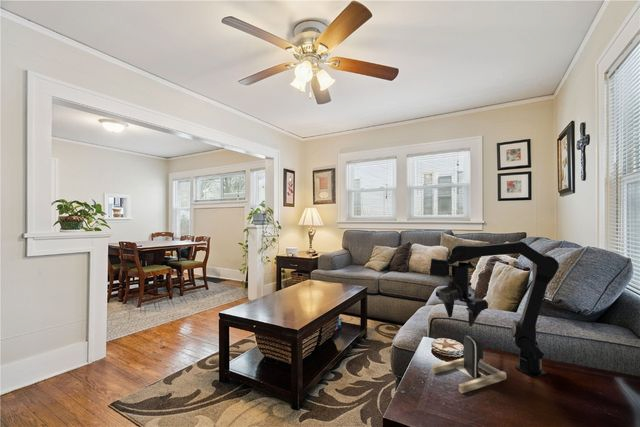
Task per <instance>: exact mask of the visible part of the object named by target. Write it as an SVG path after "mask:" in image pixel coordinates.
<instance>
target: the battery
mask: <svg viewBox="0 0 640 427" xmlns="http://www.w3.org/2000/svg"><path fill="white" fill-rule="evenodd" d="M463 358H464V368H465V369H466V370H467V372H468V373H469V374H470V375H471V376H472V377H473V378H479V377H481V374H480V373H481V372H480V371H479V367H478V362H479V361H480V360H484V346H483V343H482V342H481V341H480V340H479V339H478V338H477V337H475V336H473V335H471V336H470V335H464V337H463ZM479 372H480V373H479ZM473 378H472V379H473Z"/></svg>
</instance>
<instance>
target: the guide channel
mask: <svg viewBox="0 0 640 427" xmlns="http://www.w3.org/2000/svg"><path fill="white" fill-rule="evenodd" d="M430 369H431V370H430V372H431V374H433V375H436V374H439V373H442V372H443V373H444V372H446V371H450V370H454V369H457V370H458V371H460V372H461V373H463V374H464V375H466V376H468V377H470V378H471V379H472V380H468V381H465V382H462V383H459V384H458V392H459V393H461V394H464V393H467V392H471V391H474V390H477V389H481V388H483V387H487V386H490V385H493V384H496V383H499V382H503V381H506V380H507V372H505V371H504V370H503V371H502V370H499V369H498V368H496V367H495V366H493V365H490V364H488V363H486V362H484V361H482V359H480V361H479V362H478V369H481V370H483V371H484V372H486V373H488V374H490V375H485V374H484V373H482V372H481V371H479V373H480V374H481V377H479V378H473V377H472V376H471V375H470V374H469V373H468V372H467V370H466V369H465V368H464V357H462V358H458V359H454V360H453V359H452V360H449V361H447V362H443V363H439V364H434V365H431V366H430Z"/></svg>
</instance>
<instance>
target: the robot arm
mask: <svg viewBox="0 0 640 427" xmlns="http://www.w3.org/2000/svg"><path fill="white" fill-rule="evenodd" d="M514 254H518V255H521V256H523V257H524V258H526V259H527V260H529V261H530V262H532V267H531V271H532V279H531V280H532V281H531V283H530V287H529V291H528V293H527V298H526V300H525V304H524V308H523V311H522V315H521V317H520V318H519V320H518V321H517V320H515V319H513V321H512V323H513V324H512V327H511V328H510V333H511V337H512V338H513V339H512V340H513V341H514V344H515V345H516V347H517V348H518V349H520V351H519V358H518V359H519V360H518V365H515V366H514V368H515V369H516V370H518V371H520V372H522V373H524V374H526V375H528V376H530V377H532V378H537V377H540V376H544V375H547V371H546V370H544V369H542V366H543V365H542V362H543V361H542V360H543V358H544V356H545V353H544V351H543V349H542V347H541V346H540V343H539V342H538V341H537V322H538V319H539V315H540V312H541V308H542V305H543V302H544V299H545V294H546V291H547V289H548V288H547V287H548V286H549V284H550V282H551V281H553V279H554V278H555V276H556V274H557V272H558V270H559V268H560V264H559V262H558V260H557V259H556V258H555V257H554V256H551V255H549V254H547V253H541V252H538V251H537V250H535V249H534V248H532V247H531V246H529V245H528V244H527V243H526V242H524V241H522V240H516V241H511V242H500V243H493V244H489V243H488V244H483V245H482V244H480V245H476V244H464V243H458V244H456V245H454V246H453V247H452V250H451V254H449V256H448V257H447V258H446V259H439V258H433V257H432V258H430V259H431V260H430V268H429V275H430V277H434V278H435V277H436V278H442V279H443V278H445V279H446V278H447V277H448V276H450V274H451V280H449V281H448V285H447V286H445V287H442V288H437V289H436V291H435V297H437V299H438V300H440V301H441V302H442V303H443V305H444V308H445V311H446V314H447V317H448V318H450V319H451V318H452V317H453V313H454V312H453V311H454V306H455V301H459V302H462V303H465V304H466V307H465V310H466V311H467V312H468V326H469V327H473V325H474V324H475V322H476V320H477V318H478V317H479V315H480V314H481V312H482V311H485V310H487V309H489V302H488V301H487V300H486V299H483V298H480V297H473V298H471V297H472V293H470V286H472V282H470V269H475V268H476V266H475V264H474V263H472V261H471V260H474V259H477V258H481V257H491V256H492V257H493V256H502V255H514ZM466 261H467V262H466ZM457 262H458V263H457Z"/></svg>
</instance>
